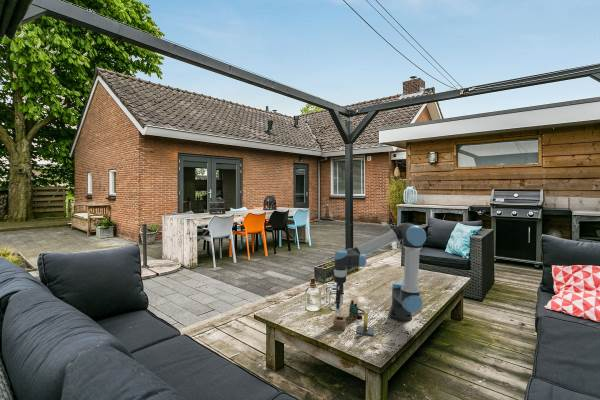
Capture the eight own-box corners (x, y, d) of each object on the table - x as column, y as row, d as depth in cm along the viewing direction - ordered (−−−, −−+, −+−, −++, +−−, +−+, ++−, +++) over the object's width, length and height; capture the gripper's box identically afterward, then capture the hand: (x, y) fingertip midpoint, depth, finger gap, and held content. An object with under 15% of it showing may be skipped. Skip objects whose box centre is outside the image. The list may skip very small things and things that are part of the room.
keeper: (374, 329, 191) (374, 309, 190) (373, 336, 182) (374, 316, 181) (357, 327, 193) (358, 308, 193) (356, 333, 185) (357, 314, 184)
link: (345, 325, 195) (345, 316, 194) (344, 331, 188) (344, 321, 188) (334, 324, 197) (335, 315, 196) (333, 329, 190) (333, 320, 189)
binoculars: (367, 304, 205) (354, 304, 202) (365, 319, 206) (352, 320, 202) (360, 299, 214) (347, 299, 210) (358, 313, 214) (346, 314, 211)
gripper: (336, 269, 203) (336, 300, 205) (330, 281, 179) (330, 316, 180) (348, 270, 201) (347, 302, 203) (343, 282, 177) (342, 318, 179)
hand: (339, 308), depth 192 cm, fingers open, 13 cm apart
